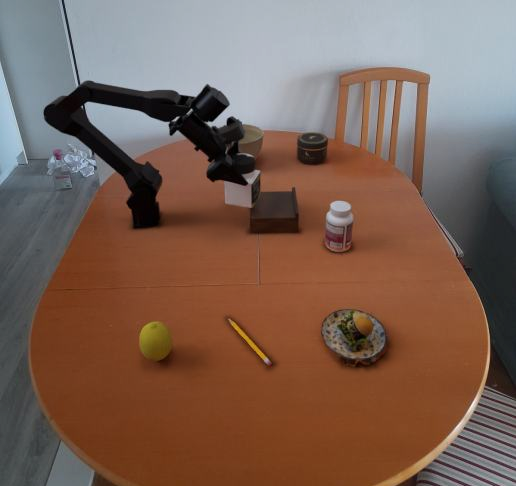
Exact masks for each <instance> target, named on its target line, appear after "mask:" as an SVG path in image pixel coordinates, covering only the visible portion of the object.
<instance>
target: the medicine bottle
mask: <svg viewBox="0 0 516 486" xmlns="http://www.w3.org/2000/svg"><path fill="white" fill-rule="evenodd" d="M231 159H232V160H233V159H235V168H236V169H237V170H238V171H239V172H240V173H241V174H242V176H243V177H244V178H245V179H246V180H247V182H248V184H247V185H246V186H243V185H239V184H235V183H231V182H227V181H223V183H224V203H225V205H231V206H236V207H243V208H248V209H250V208H252V207H253V206H254V204H255V202H256V201H257V199H258V198H259V196H260V192H261V170H259V169H256V159H255V158H254V157H253V156H252V155H250V154H246V153H239V154H235V155H233V156H232V157H231Z"/></svg>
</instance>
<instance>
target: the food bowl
mask: <svg viewBox="0 0 516 486" xmlns="http://www.w3.org/2000/svg"><path fill="white" fill-rule="evenodd" d="M320 334H321V336H322V338H323V341H324V342H325V345H326V346H327V347H328V348H329V349H330V352H332V353H333V354H334V355H336V356H339V357H340V358H341V359H342V363H343V365H344V366H350V367H356V365H357V363H358V362H360V363H361V364H362V365H365V366H369V365H372V364H374V363H375V362H376V361H377V360H379V359H380V357H381V356H384V354H385V353H386V349H387V343H388V336H387V331H386V329H385V328H384V325H383V324H382V323H381V322H380V320H378V319H377V318H376V317H375V316H374V315H372V313H368V312H365V311H362V310H360V309H355V308H354V309H351V308H344V309H338V310H335V311H333V312H331V313H330V314H328V315H327V316H326V317H325V318H324V319H323V321H322V324H321V331H320Z"/></svg>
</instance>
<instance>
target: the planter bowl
mask: <svg viewBox="0 0 516 486" xmlns="http://www.w3.org/2000/svg"><path fill="white" fill-rule="evenodd" d="M223 126H224V125H222V126H219V127H217V128H218V129H220V128H222V127H223ZM242 126H243V128H244V130H245V134H244V138H243V139H241V140H239V149H240V151H241V153H246V154H250V155H252V156H253V157H254V158H255V160H256V159H257V158H258V156H259V155H260V152H261V151H262V147H263V143H264V134H265V133H264V130H263V129H262V128H260V127H259V126H256V125H253V124H247V123H242Z"/></svg>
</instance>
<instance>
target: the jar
mask: <svg viewBox="0 0 516 486" xmlns="http://www.w3.org/2000/svg"><path fill="white" fill-rule="evenodd" d="M296 139H297V140H296V146H297V147H296V155H297V159H298V160H299V162H301V163H303V164H305V165H320V164H322V163H324V162H325V161H326V158H327V156H328V146H329V138H328V136H327V135H326V134H323V133H321V132H315V131H314V132H313V131H312V132H311V131H310V132H309V131H307V132H304V133H301V134H299V135H298V136H297V138H296Z"/></svg>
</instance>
